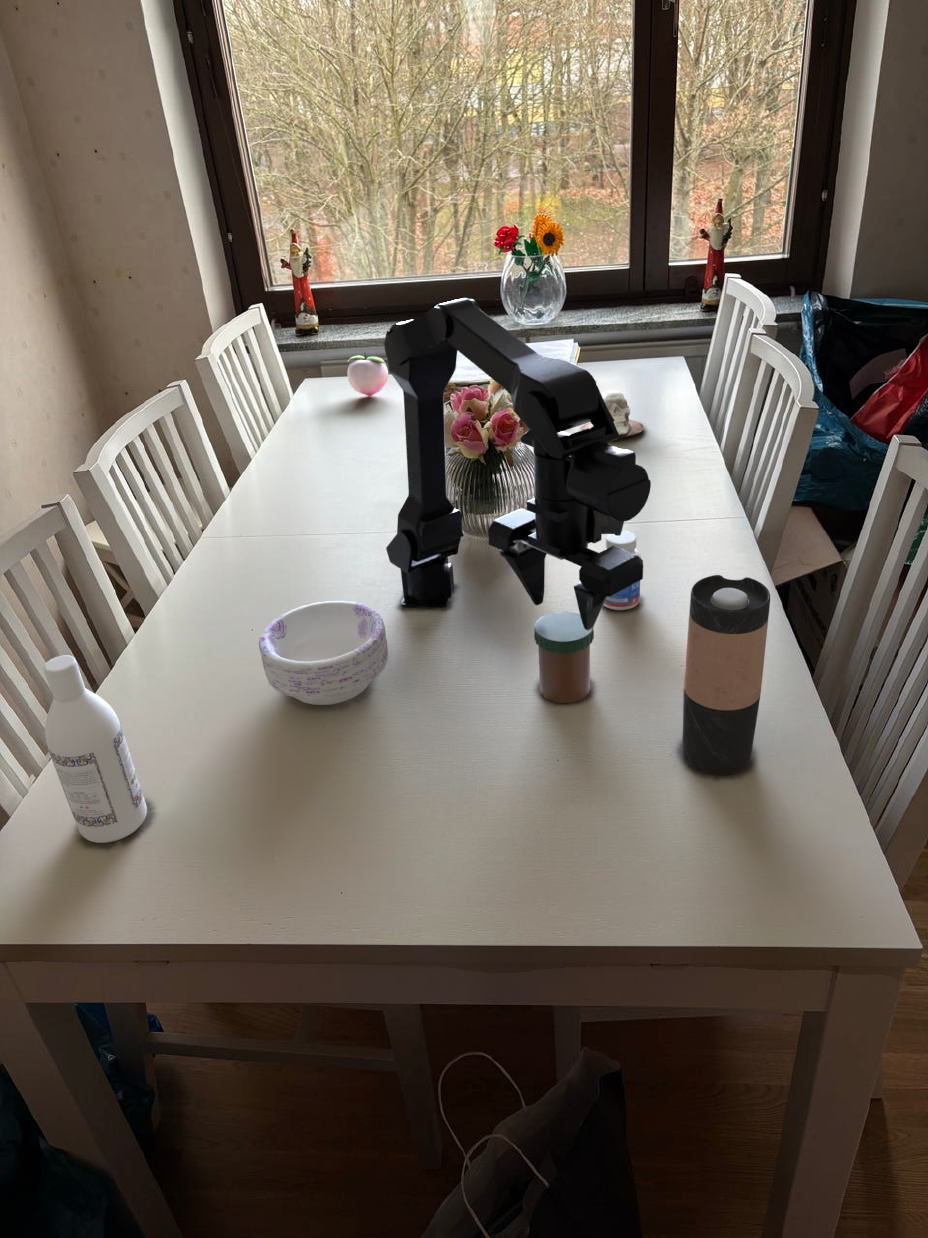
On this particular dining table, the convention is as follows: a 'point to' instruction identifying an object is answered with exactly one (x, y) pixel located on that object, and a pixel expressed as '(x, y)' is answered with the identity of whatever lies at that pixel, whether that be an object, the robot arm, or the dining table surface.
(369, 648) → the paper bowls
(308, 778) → the dining table surface
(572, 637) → the jar lid
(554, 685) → the honey jar
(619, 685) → the dining table surface
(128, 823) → the bath foam
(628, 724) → the dining table surface
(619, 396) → the skull
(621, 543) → the pill bottle
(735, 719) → the travel mug
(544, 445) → the robot arm
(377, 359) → the decorative fruit
